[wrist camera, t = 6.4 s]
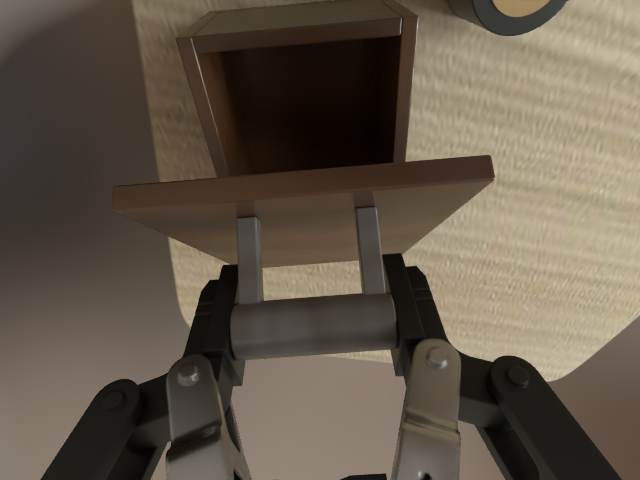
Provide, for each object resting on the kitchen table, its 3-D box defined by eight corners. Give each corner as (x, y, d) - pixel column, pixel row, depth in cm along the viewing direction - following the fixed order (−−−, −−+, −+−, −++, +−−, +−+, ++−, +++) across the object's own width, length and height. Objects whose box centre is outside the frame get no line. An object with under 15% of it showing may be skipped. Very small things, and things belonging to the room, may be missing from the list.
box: (209, 11, 22) (174, 38, 16) (387, -5, 22) (419, 15, 16) (253, 198, 31) (241, 259, 25) (379, 188, 31) (397, 247, 25)
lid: (111, 185, 10) (102, 379, 9) (492, 153, 10) (528, 348, 9) (240, 258, 25) (243, 337, 24) (398, 246, 25) (407, 325, 24)
